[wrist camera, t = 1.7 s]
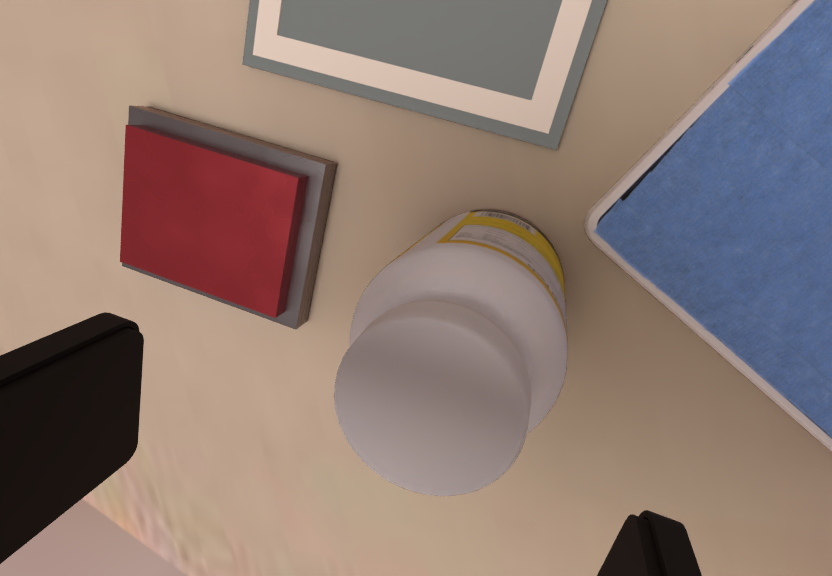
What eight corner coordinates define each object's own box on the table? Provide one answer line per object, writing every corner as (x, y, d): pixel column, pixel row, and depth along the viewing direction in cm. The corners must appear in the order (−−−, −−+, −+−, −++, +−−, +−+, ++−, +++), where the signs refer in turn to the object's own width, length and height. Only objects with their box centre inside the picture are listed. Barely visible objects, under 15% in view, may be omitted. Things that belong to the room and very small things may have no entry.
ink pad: (337, 163, 23) (316, 166, 21) (307, 320, 26) (286, 336, 24) (148, 106, 24) (113, 104, 23) (139, 260, 27) (107, 270, 25)
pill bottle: (420, 342, 24) (309, 508, 14) (415, 206, 22) (281, 274, 12) (562, 352, 23) (563, 550, 12) (568, 205, 21) (577, 283, 10)
